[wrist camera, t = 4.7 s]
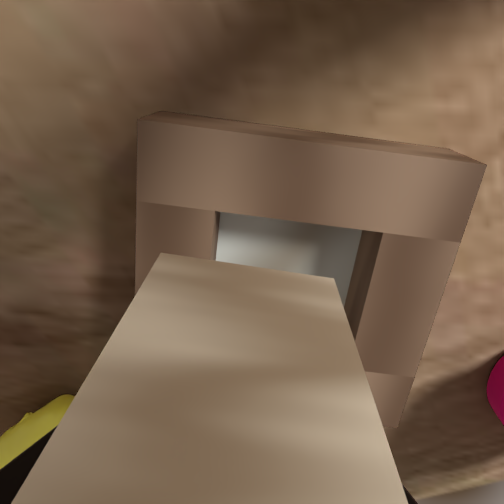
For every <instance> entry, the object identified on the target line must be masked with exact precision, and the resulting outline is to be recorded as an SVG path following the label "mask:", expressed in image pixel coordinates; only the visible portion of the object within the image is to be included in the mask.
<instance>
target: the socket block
mask: <svg viewBox="0 0 504 504" xmlns="http://www.w3.org/2000/svg"><path fill="white" fill-rule="evenodd" d="M486 166H487V165H486V164H483V163H481V162H479V161H476V160H474V159H472V158H469V157H467V156H465V155H462V154H460V153H458V152H455V151H453V150H450V149H447V148H439V147H432V146H424V145H416V144H409V143H401V142H394V141H386V140H378V139H371V138H363V137H356V136H348V135H340V134H333V133H325V132H317V131H310V130H302V129H295V128H287V127H279V126H272V125H264V124H257V123H249V122H241V121H234V120H226V119H219V118H211V117H203V116H196V115H188V114H180V113H173V112H165V111H159V112H156V113H154V114H151V115H148V116H145V117H142V118H140V119H138V124H137V189H136V253H135V295H136V294H137V292H138V290H139V289H140V287H141V285H142V284H143V282H144V280H145V279H146V277H147V275H148V273H149V272H150V270H151V268H152V267H153V265H154V263H155V262H156V260H157V258H158V257H159V255H160V253H167V254H173V255H180V256H187V257H194V258H200V259H207V260H214V261H220V262H227V263H234V264H241V265H247V266H254V267H261V268H267V269H274V270H281V271H287V272H294V273H301V274H308V275H314V276H321V277H328V278H334V280H335V283H336V286H337V289H338V292H339V295H340V298H341V301H342V304H343V307H344V310H345V313H346V316H347V319H348V322H349V325H350V328H351V331H352V335H353V338H354V341H355V344H356V347H357V350H358V353H359V356H360V359H361V362H362V365H363V368H364V371H365V374H366V377H367V380H368V383H369V386H370V389H371V392H372V395H373V398H374V401H375V404H376V407H377V410H378V413H379V416H380V419H381V422H382V425H383V426H384V427H392V428H398V425H399V422H400V419H401V416H402V413H403V410H404V407H405V404H406V401H407V398H408V395H409V392H410V389H411V387H412V384H413V381H414V378H415V375H416V372H417V369H418V366H419V363H420V360H421V357H422V354H423V351H424V348H425V345H426V342H427V340H428V337H429V334H430V331H431V328H432V325H433V322H434V319H435V316H436V313H437V310H438V307H439V304H440V301H441V298H442V295H443V293H444V290H445V287H446V284H447V281H448V278H449V275H450V272H451V269H452V266H453V263H454V260H455V257H456V254H457V251H458V248H459V246H460V243H461V240H462V237H463V234H464V231H465V228H466V225H467V222H468V219H469V216H470V213H471V210H472V207H473V204H474V201H475V199H476V196H477V193H478V190H479V187H480V184H481V181H482V178H483V175H484V172H485V169H486Z"/></svg>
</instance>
